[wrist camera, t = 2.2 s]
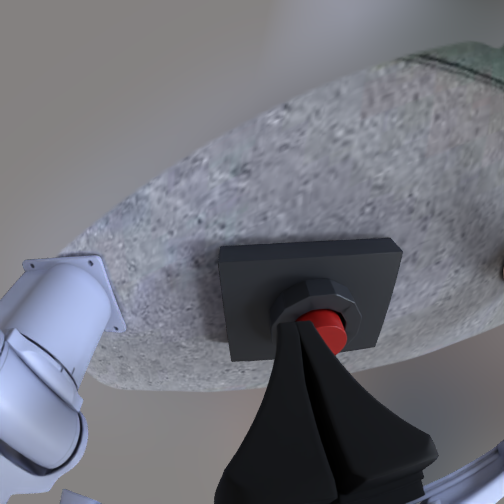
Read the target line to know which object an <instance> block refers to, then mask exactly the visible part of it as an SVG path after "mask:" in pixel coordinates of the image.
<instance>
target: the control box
mask: <svg viewBox="0 0 504 504" xmlns="http://www.w3.org/2000/svg"><path fill="white" fill-rule="evenodd" d="M402 254H403V251H402V250H401V249H400V248H399V247H398V246H397V244H396V243H395V242H394V241H393V240H392V239H391V238H379V239H357V240H336V241H315V242H295V243H276V244H257V245H238V246H221V247H220V251H219V259H218V267H219V275H220V283H221V291H222V299H223V306H224V314H225V321H226V328H227V335H228V342H229V349H230V355H231V361H232V362H236V361H257V360H273V359H275V355H276V335H277V325H278V324H279V323H285V322H295V321H296V320H297V319H298V318H299V317H300V316H301V315H303V314H305V313H307V312H309V311H311V310H317V309H329V310H332V311H334V312H335V313H337V314H338V316H339V317H340V320H341V322H342V325H343V327H344V330H345V332H346V335H347V341H346V344H345V346H344V348H343V349H342V350H341V351H340V352H346V351H353V350H359V349H366V348H371V347H375V345H376V343H377V340H378V337H379V334H380V331H381V328H382V325H383V322H384V319H385V316H386V313H387V310H388V306H389V303H390V300H391V296H392V293H393V289H394V286H395V282H396V278H397V274H398V271H399V267H400V262H401V258H402Z"/></svg>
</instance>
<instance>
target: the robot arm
mask: <svg viewBox="0 0 504 504" xmlns="http://www.w3.org/2000/svg"><path fill="white" fill-rule="evenodd" d="M89 260H90V261H92V263H91V262H90V261H89ZM22 265H23V268H24V270H25V272H24V274H23V275H22V276H21V277H20V278H19V279H18V280H17V281H16V283H15V284H14V285H13V286H12V287H11V288H10V289H9V290H8V292H7V293H6V294H5V295H4V296H3V298H2V299H1V300H0V504H6V503H7V501H8V500H9V498H10V496H11V495H14V494H30V493H42V492H48V491H50V489H51V488H52V486H53V485H54V483H55V482H56V480H57V479H58V478H59V477H60V476H62V475H63V474H65V473H66V472H68V471H69V470H71V469H72V468H73V467H75V466H76V464H77V463H78V462H79V461H80V459H81V458H82V456H83V454H84V452H85V449H86V445H87V440H88V426H87V422H86V419H85V417H84V415H83V414H82V413H81V412H80V408H81V405H82V403H83V399H82V398H81V397H80V396H79V394H78V393H77V391H78V389H79V386H80V384H81V381H82V379H83V376H84V374H85V372H86V369H87V367H88V364H89V362H90V360H91V357H92V355H93V353H94V351H95V348H96V346H97V344H98V342H99V340H100V337H101V335H102V333H103V331H106V332H125V331H126V325H125V322H124V320H123V317H122V315H121V312H120V310H119V307H118V305H117V302H116V299H115V297H114V294H113V291H112V289H111V286H110V283H109V280H108V277H107V274H106V271H105V268H104V265H103V262H102V260H101V258H100V257H99V256H97V255H90V256H75V257H59V258H45V259H30V260H24V261H23V263H22ZM438 456H439V455H438V452H437V450H436V447H435V444H434V442H433V440H432V439H431V437H430V435H429V434H426V433H425V432H423V431H421V430H419V429H417V428H416V427H414V426H412V425H411V424H409V423H407V422H406V421H404V420H403V419H401V418H400V417H398V416H397V415H396V414H394V413H393V412H392V411H390V410H389V409H388V408H386V407H385V406H384V405H382V404H381V403H380V402H379V401H377V400H376V399H375V398H374V397H373V396H372V395H371V394H369V393H368V392H367V391H366V390H365V389H364V388H363V387H362V386H361V385H360V384H359V383H358V382H357V381H356V380H355V379H354V378H353V377H352V375H351V374H350V373H349V372H348V371H347V370H346V369H345V367H344V366H343V365H342V364H341V363H340V361H339V360H338V359H337V358H336V356H335V355H334V354H333V352H332V351H331V350H330V348H329V347H328V346H327V344H326V343H325V341H324V340H323V338H322V337H321V335H320V334H319V332H318V331H317V329H316V328H315V326H314V324H313V322H311V321H310V320H308V321H297V322H285V323H279V324H278V325H277V335H276V355H275V360H274V365H273V369H272V373H271V376H270V380H269V383H268V386H267V389H266V392H265V395H264V398H263V400H262V403H261V406H260V408H259V410H258V412H257V415H256V417H255V419H254V421H253V423H252V425H251V427H250V429H249V431H248V433H247V435H246V437H245V438H244V440H243V442H242V444H241V445H240V447H239V449H238V451H237V452H236V454H235V455H234V456H233V458H232V460H231V461H230V463H229V464H228V466H227V467H226V469H225V470H224V472H223V475H222V478H221V479H220V482H219V484H218V487H217V489H216V492H215V497H214V504H416V503H418V502H421V501H422V502H421V503H420V504H495V503H496V502H498V501H499V500H500V499H501V498H502V497H503V496H504V440H503V441H501V442H500V443H499V444H498V445H497V446H496V447H495V448H493V449H492V450H490V451H489V452H487V453H486V454H484V455H482V456H481V457H479V458H477V459H476V460H474V461H472V462H470V463H469V464H467V465H465V466H463V467H462V468H460V469H458V470H456V471H454V472H452V473H450V474H448V475H446V476H444V477H442V478H440V479H438V480H436V481H434V482H432V483H430V484H427V485H426V486H423V485H422V482H421V479H423V478H424V475H423V472H422V470H423V469H425V468H426V467H427V466H429V465H430V464H432V463H433V462H434V461H435V460H436V459H437V458H438ZM60 504H101V503H100V502H98V501H96V500H93V499H91V498H88V497H85V496H82V495H80V494H77V493H74V492H72V491H69V490H67V489H63V491H62V495H61V500H60Z"/></svg>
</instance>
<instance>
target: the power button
mask: <svg viewBox="0 0 504 504" xmlns="http://www.w3.org/2000/svg"><path fill="white" fill-rule="evenodd" d="M308 320H310V321H311V322H313V324H314V326H315V328H316V329H317V331H318V332H319V334H320V335H321V337H322V338H323V340H324V341H325V343H326V344H327V346H328V347H329V348H330V350H331V351H332V352H333V354H334V355H336V354H338V353H339V352H340V351H341V350H342V349H343V348H344V346H345V344H346V341H347V335H346V332H345V330H344V327H343V325H342V322H341V320H340V317H339V316H338V314H337V313H335V312H334V311H332V310H329V309H317V310H311V311H309V312H307V313H305V314H303V315H301V316H300V317H299V318H298V319H297V320H296V321H295V322H297V321H308Z"/></svg>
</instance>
